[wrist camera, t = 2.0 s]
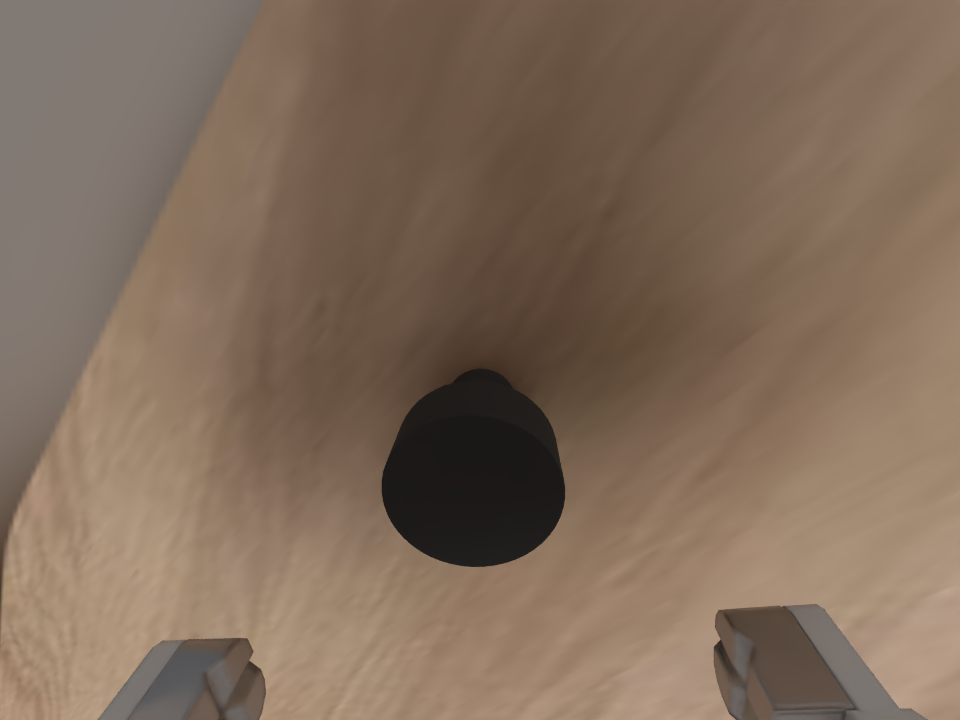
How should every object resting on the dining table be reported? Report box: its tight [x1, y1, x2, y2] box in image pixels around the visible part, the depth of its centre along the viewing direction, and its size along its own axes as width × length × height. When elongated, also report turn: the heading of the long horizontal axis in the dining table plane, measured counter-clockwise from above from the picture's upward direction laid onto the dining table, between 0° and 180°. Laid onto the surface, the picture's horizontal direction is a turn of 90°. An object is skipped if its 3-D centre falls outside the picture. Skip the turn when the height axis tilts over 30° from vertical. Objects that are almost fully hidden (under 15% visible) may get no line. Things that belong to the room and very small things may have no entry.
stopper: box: [382, 369, 565, 567], centre depth 14 cm, size 5×5×6 cm
